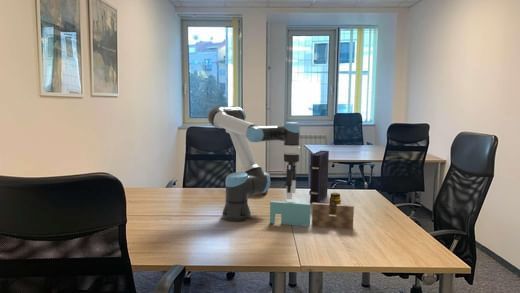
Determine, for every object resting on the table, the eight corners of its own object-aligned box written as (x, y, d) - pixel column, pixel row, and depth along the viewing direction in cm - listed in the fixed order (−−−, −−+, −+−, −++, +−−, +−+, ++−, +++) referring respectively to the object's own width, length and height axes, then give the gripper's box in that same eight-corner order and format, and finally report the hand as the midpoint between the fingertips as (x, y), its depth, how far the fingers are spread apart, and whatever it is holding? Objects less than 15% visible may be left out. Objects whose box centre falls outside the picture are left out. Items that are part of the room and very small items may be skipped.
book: (318, 194, 258) (320, 150, 254) (327, 195, 255) (329, 150, 252) (309, 202, 236) (310, 154, 233) (319, 203, 234) (320, 155, 230)
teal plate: (269, 223, 194) (270, 201, 192) (270, 221, 196) (271, 200, 195) (309, 226, 189) (310, 204, 188) (309, 224, 192) (310, 203, 190)
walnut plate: (311, 225, 191) (312, 203, 190) (312, 223, 193) (312, 202, 192) (352, 228, 187) (353, 206, 186) (352, 227, 189) (353, 205, 188)
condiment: (343, 215, 209) (344, 194, 208) (332, 218, 204) (333, 196, 203) (334, 212, 215) (334, 191, 214) (322, 214, 210) (323, 193, 209)
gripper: (296, 157, 176) (295, 202, 178) (301, 151, 200) (301, 191, 202) (280, 156, 177) (279, 201, 179) (287, 150, 202) (287, 190, 204)
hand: (290, 195), depth 191 cm, fingers open, 13 cm apart
